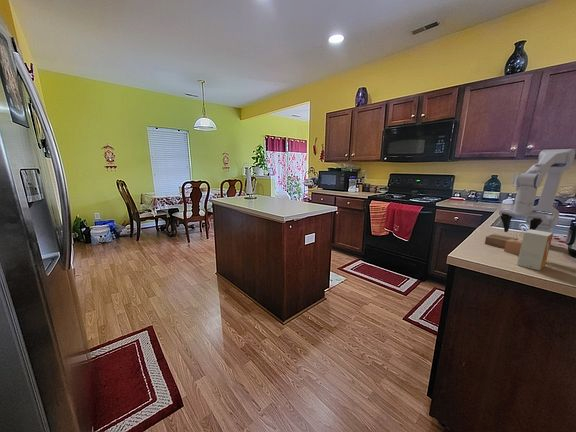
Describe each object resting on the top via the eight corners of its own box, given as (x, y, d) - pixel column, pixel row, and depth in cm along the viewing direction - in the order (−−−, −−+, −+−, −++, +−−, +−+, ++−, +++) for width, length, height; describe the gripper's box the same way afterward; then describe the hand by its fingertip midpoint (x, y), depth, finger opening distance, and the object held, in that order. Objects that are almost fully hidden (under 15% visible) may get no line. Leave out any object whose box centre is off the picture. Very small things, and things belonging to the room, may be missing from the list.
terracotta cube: (508, 249, 107) (510, 239, 106) (523, 253, 102) (525, 242, 101) (503, 251, 104) (506, 240, 103) (518, 255, 100) (521, 243, 99)
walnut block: (492, 241, 119) (494, 233, 118) (516, 246, 111) (517, 238, 110) (484, 244, 114) (486, 236, 113) (508, 250, 107) (510, 241, 106)
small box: (540, 271, 85) (548, 236, 82) (516, 265, 90) (523, 232, 87) (545, 266, 89) (553, 232, 86) (522, 260, 94) (529, 228, 91)
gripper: (498, 200, 103) (492, 230, 106) (545, 205, 91) (537, 239, 93) (505, 199, 106) (499, 228, 109) (551, 204, 94) (543, 237, 97)
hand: (517, 233), depth 102 cm, fingers open, 7 cm apart
